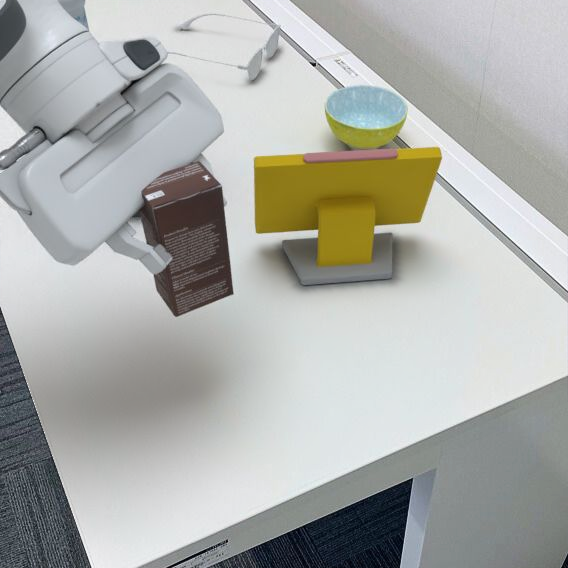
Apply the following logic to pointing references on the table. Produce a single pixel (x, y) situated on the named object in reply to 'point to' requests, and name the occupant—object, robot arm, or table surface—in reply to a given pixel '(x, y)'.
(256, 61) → the eyeglasses
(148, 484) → the table surface
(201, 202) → the box
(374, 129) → the bowl
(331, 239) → the toy computer monitor
